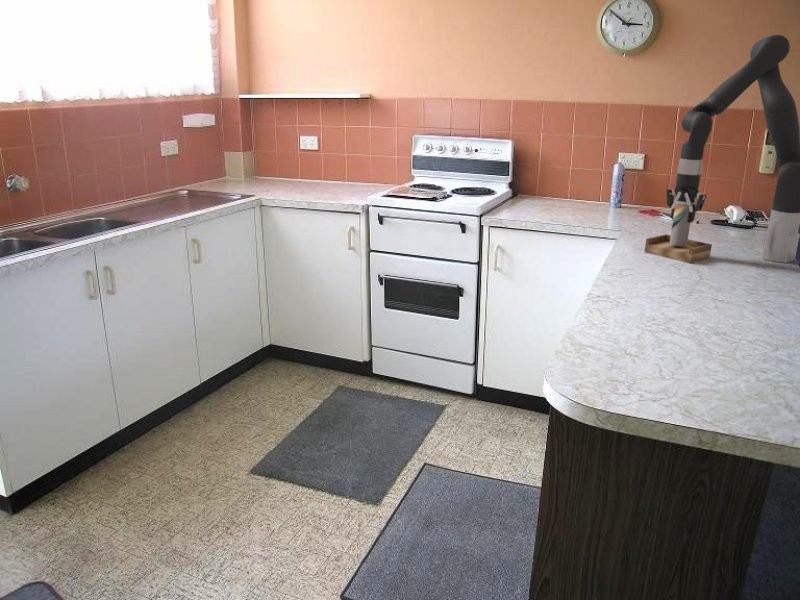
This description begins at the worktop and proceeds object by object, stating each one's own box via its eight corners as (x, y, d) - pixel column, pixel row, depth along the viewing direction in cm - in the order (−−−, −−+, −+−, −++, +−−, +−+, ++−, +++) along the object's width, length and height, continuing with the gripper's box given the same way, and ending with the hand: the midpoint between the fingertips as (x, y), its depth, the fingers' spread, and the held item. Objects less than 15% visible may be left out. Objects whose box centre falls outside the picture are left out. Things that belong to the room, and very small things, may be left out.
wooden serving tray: (709, 258, 234) (711, 244, 232) (690, 263, 227) (692, 249, 225) (663, 247, 247) (665, 234, 246) (644, 252, 241) (646, 238, 239)
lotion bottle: (684, 242, 238) (692, 186, 232) (689, 246, 233) (697, 189, 226) (667, 242, 239) (675, 186, 232) (672, 246, 233) (680, 189, 227)
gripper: (715, 174, 224) (707, 223, 230) (676, 169, 235) (669, 216, 241) (702, 175, 220) (694, 226, 226) (664, 170, 231) (657, 218, 237)
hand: (681, 220), depth 233 cm, fingers closed on lotion bottle, 5 cm apart
